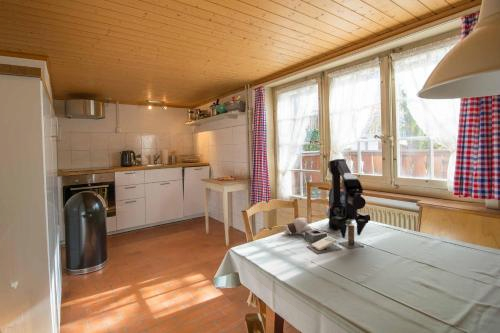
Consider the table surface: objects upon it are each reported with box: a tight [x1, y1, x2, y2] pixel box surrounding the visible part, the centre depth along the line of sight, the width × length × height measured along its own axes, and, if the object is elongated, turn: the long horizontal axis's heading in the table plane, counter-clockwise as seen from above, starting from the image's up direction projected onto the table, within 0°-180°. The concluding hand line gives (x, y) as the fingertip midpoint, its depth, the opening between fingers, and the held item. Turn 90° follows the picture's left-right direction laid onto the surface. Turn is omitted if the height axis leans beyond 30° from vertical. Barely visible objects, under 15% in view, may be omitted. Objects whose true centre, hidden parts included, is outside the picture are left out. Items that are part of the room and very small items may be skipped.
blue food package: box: [328, 182, 353, 225], centre depth 159 cm, size 6×12×25 cm, turn 106°
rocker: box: [311, 235, 338, 251], centre depth 120 cm, size 10×6×1 cm, turn 109°
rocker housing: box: [306, 243, 343, 255], centre depth 120 cm, size 13×9×2 cm
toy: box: [282, 217, 314, 236], centre depth 141 cm, size 13×9×15 cm
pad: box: [338, 240, 365, 250], centre depth 123 cm, size 8×8×1 cm
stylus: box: [347, 224, 355, 245], centre depth 123 cm, size 3×3×9 cm
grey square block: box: [304, 228, 328, 244], centre depth 131 cm, size 8×8×4 cm
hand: (351, 236), depth 123 cm, fingers open, 9 cm apart
